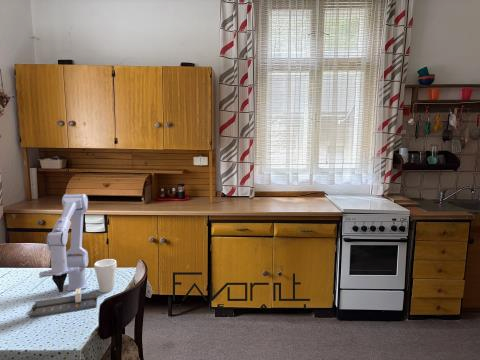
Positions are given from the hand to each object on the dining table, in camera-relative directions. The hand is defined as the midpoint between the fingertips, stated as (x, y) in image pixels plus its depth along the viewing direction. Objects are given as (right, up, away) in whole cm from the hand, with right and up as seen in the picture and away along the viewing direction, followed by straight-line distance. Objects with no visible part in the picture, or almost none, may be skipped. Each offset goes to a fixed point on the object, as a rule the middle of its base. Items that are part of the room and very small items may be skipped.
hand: (61, 291), depth 141 cm
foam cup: (+13, -5, +16) cm, 21 cm away
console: (+1, -7, +1) cm, 7 cm away
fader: (+6, -4, +3) cm, 8 cm away
